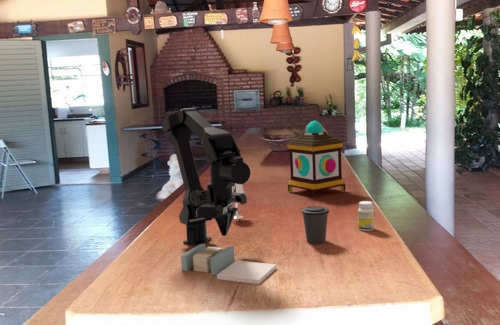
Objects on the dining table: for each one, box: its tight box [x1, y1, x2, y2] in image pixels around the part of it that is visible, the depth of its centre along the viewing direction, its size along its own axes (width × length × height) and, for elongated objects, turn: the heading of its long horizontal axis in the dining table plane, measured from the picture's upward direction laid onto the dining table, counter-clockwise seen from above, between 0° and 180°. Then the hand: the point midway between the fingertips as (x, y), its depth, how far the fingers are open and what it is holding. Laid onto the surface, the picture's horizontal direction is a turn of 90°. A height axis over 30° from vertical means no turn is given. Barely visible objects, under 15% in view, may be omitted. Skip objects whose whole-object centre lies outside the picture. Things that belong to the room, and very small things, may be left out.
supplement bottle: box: [357, 200, 375, 232], centre depth 161 cm, size 5×5×8 cm
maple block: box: [193, 246, 223, 273], centre depth 135 cm, size 8×4×4 cm, turn 153°
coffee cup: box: [300, 205, 330, 245], centre depth 151 cm, size 8×8×10 cm
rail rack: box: [180, 243, 236, 276], centre depth 135 cm, size 10×10×4 cm
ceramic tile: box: [216, 259, 278, 285], centre depth 128 cm, size 11×11×1 cm
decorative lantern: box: [286, 120, 346, 199], centre depth 218 cm, size 20×20×30 cm
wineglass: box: [232, 183, 245, 220], centre depth 183 cm, size 6×6×12 cm
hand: (224, 235), depth 143 cm, fingers closed
